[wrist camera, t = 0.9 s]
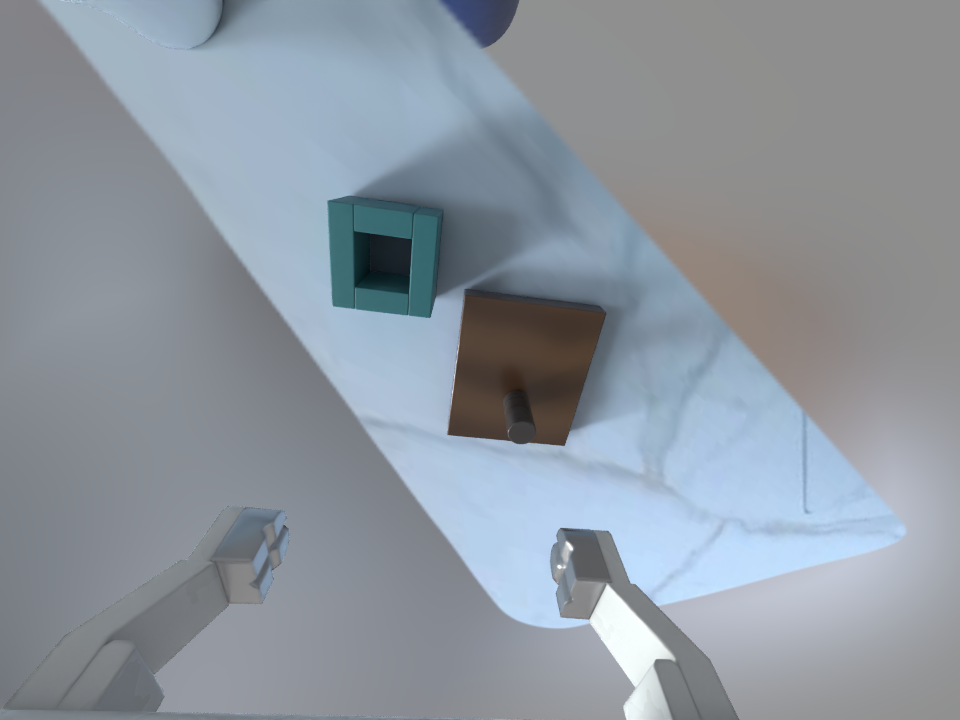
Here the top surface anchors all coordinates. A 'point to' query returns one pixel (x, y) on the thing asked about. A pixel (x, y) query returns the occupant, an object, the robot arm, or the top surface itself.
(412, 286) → the teal hollow square block
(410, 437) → the top surface
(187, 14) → the beer glass
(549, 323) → the base pad
